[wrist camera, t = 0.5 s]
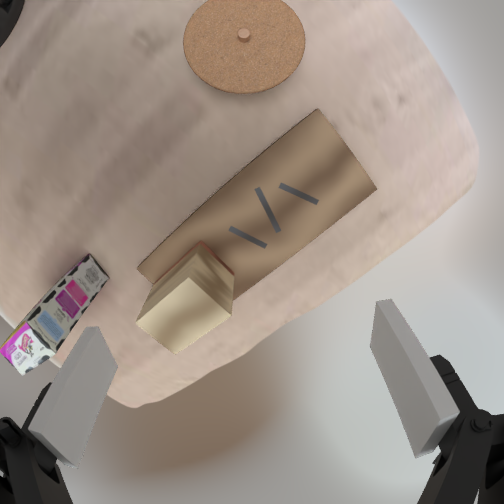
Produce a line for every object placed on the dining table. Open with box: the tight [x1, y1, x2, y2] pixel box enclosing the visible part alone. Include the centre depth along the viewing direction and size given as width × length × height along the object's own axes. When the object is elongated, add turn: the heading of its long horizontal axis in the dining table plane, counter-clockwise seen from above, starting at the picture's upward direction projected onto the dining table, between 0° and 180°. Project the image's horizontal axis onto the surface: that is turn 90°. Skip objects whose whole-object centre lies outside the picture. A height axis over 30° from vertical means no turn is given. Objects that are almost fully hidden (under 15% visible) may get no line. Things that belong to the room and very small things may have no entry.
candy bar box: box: [0, 254, 109, 375], centre depth 33 cm, size 11×5×16 cm, turn 123°
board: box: [137, 109, 377, 300], centre depth 36 cm, size 12×30×1 cm, turn 131°
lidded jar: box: [183, 0, 305, 94], centre depth 24 cm, size 11×11×9 cm
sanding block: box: [135, 241, 235, 355], centre depth 35 cm, size 6×9×9 cm, turn 131°
